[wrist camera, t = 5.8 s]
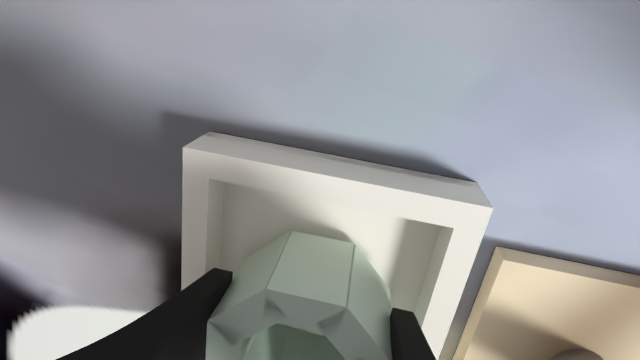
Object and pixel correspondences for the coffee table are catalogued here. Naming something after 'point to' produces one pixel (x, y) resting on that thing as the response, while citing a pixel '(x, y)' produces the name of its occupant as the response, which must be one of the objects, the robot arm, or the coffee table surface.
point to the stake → (552, 311)
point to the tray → (334, 218)
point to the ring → (303, 305)
